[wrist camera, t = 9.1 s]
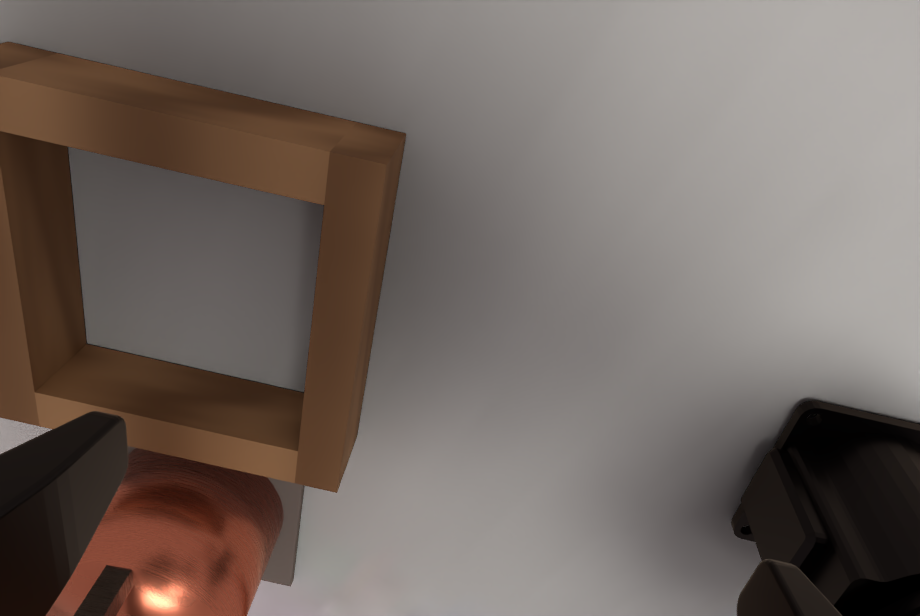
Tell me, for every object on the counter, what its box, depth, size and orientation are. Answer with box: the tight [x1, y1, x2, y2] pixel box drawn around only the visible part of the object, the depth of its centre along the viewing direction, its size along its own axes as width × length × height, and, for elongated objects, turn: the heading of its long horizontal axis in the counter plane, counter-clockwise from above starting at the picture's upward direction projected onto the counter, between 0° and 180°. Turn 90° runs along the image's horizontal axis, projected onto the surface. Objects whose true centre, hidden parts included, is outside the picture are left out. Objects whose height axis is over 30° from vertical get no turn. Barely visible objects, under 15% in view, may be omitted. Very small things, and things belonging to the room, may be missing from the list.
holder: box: [0, 42, 406, 493], centre depth 22 cm, size 12×12×3 cm
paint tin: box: [46, 448, 284, 616], centre depth 24 cm, size 7×7×10 cm
